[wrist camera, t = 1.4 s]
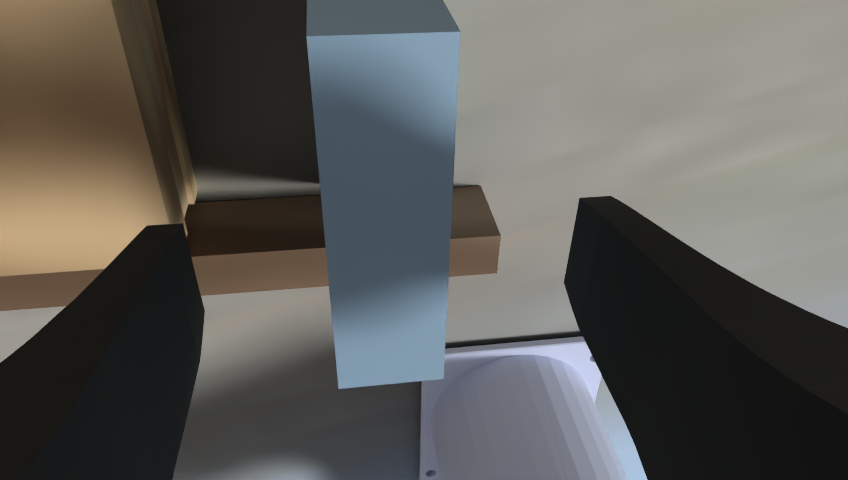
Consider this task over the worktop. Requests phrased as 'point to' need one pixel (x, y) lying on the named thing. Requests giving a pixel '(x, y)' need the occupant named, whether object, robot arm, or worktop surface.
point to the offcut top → (77, 137)
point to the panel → (385, 180)
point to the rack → (267, 249)
